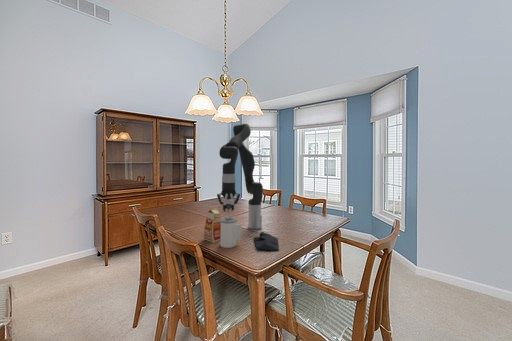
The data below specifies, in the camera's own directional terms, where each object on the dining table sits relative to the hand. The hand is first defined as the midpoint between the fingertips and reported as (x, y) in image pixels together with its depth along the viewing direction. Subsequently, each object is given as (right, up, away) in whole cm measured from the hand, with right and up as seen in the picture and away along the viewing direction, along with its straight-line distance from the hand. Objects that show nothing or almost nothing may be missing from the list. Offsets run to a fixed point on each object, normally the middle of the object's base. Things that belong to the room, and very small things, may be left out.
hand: (228, 211), depth 138 cm
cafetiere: (+1, -20, +1) cm, 20 cm away
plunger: (0, -12, +1) cm, 12 cm away
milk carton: (-11, -19, +11) cm, 25 cm away
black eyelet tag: (+22, -21, +4) cm, 30 cm away
